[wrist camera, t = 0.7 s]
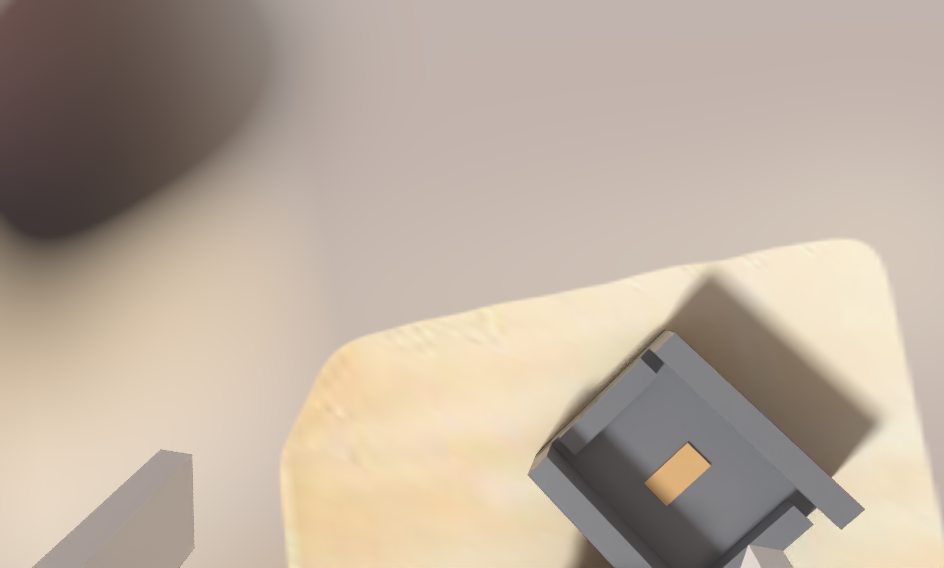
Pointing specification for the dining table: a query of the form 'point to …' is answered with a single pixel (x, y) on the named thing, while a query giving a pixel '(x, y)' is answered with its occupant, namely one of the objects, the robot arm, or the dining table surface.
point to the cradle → (682, 469)
